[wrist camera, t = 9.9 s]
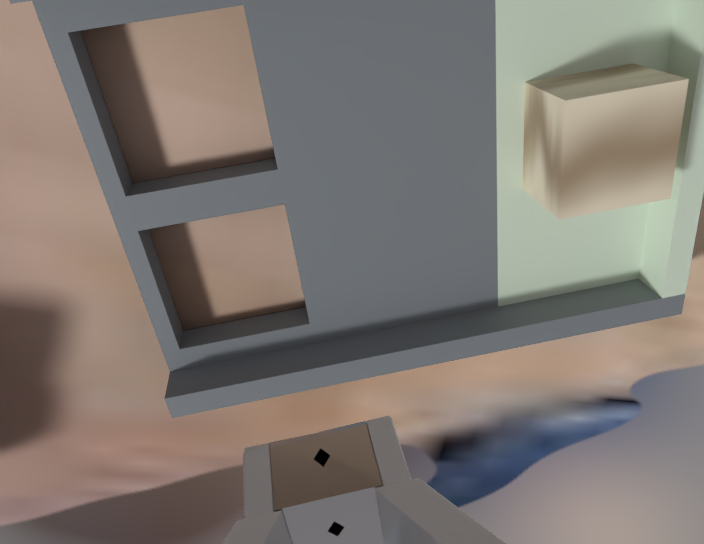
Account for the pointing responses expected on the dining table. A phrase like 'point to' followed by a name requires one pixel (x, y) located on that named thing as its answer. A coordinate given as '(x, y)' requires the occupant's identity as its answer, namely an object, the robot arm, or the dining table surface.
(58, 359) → the dining table surface
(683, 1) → the box
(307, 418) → the dining table surface
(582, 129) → the block
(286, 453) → the robot arm
